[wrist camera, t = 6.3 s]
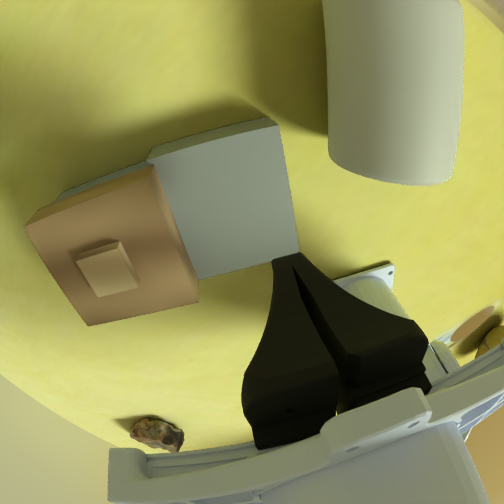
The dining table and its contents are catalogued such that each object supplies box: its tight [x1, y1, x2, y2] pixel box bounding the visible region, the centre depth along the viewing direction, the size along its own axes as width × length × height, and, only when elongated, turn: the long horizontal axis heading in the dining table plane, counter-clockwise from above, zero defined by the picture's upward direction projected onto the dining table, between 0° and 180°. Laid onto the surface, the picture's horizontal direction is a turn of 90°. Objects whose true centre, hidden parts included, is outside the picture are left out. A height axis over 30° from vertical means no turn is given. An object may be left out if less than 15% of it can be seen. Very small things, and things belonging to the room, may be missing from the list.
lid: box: [24, 165, 199, 326], centre depth 18 cm, size 9×9×3 cm
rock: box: [130, 418, 184, 453], centre depth 40 cm, size 9×6×10 cm
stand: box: [146, 117, 300, 280], centre depth 21 cm, size 10×8×3 cm
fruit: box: [475, 326, 504, 359], centre depth 41 cm, size 11×12×10 cm
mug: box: [322, 0, 464, 186], centre depth 15 cm, size 12×8×11 cm
